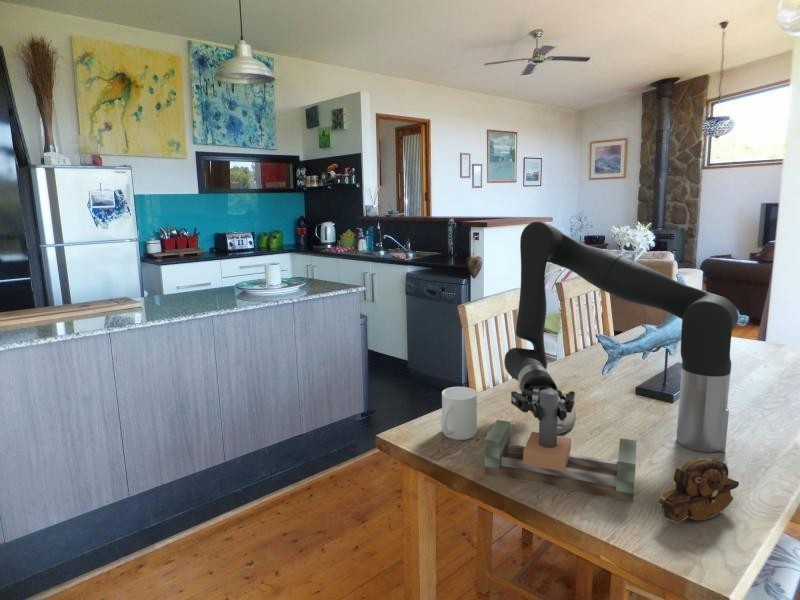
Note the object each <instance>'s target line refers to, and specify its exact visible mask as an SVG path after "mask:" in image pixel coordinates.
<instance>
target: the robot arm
mask: <svg viewBox="0 0 800 600" xmlns="http://www.w3.org/2000/svg"><path fill="white" fill-rule="evenodd" d="M519 241H520V242H519V244H520V245H519V246H520V248H519V250H520V292H519V303H518V311H517V319H516V326H515V335H516V336H517V338H519V339H521V340H522V339H523V340H524V341H528V342H530V343H531V344H532V346H533V349H529V348H523V347H512V348H510V349H509V350H507V352H506V353H505V355H504V360H503V361H504V367H505V371H506V372H507V374H508V375H509V376H510V377H512V378H513V379H514V380H516V381H517V382H518V388H519V390H520V392H517V391H513V390H512V391H511V392H510V403H511V405H512V406H514V407H516V408H517V409H518V410H520V411H521V412H523V413H528V412H531V414H532V415H533V417H534V418H535V419H537V421H539V420H542V416H543V411H542V408H541V406H540V391H541V390H545V389H550V390H555V391H557V392H558V418H559V419H560V420H562V421H564V418H566V417H567V413H570V412H571V411H572V409H573V408H574V406H575V402H576V400H575V399H576V392H575V391H572V390H571V391H568V392H566V393H563V392H562V391H561V390H559V389H558V387H557V385H556V383H555V381H554V379H553V377H552V376H551V374H550V373H549V371H548V370H547V368H548V361H547V356H546V355H547V354H546V350H545V339H544V338H545V336H544V333H545V325H546V319H547V295H546V294H547V293H546V285H545V279H546V267H547V263H551V264H553V265H557V266H559V267H562V268H565V269H567V270H569V271H571V272H573V273H575V274H577V275H578V276H579V277H581V278H582V280H585V281H586V282H587V283H589V284H590V285H593V287H595V288H598V289H599V290H601V291H603V292H605V293H608V294H610V295H611V296H614V297H616V298H618V299H621V300H624V301H625V302H626V301H627V302H629V303H630V302H631V303H632V304H638V305H642V306H646V307H651V308H655V309H659V310H661V311H664V312H667V313H669V314H672V315H673V316H675V317H677V318H679V319H681V332H680V333H681V335H680V336H681V337H680V356H681V370H680V371H681V374H680V384H679V385H680V386H679V387H680V388H679V399H678V414H677V423H676V424H677V426H676V427H677V428H676V441H677V442H678V444H680V445H681V446H683V447H685V448H687V449H691V450H693V451H696V452H701V453H703V452H704V453H716V452H722V453H726V449H727V448H726V447H727V437H728V427H729V426H728V425H729V413H730V411H729V410H730V409H729V407H728V405H729V404H728V403H729V393H730V382H731V371H732V360H731V345H732V334H733V333H732V332H733V330H734V328H735V327H736V326H737V325H738V321H739V313H738V310H737V307H736V306H735V305H734V303H732V301H730V300H729V299H728V298H726V297H724V296H721V295H719V294H715V293H712V292H709V291H705V290H702V289H699V288H696V287H693V286H690V285H687V284H684V283H682V282H679V281H677V280H675V279H673V278H671V277H669V276H666V275H665V274H663V273H661V272H659V271H657V270H655V269H653V268H651V267H648V266H647V265H644V264H641V263H640V262H637V261H635V260H633V259H630V258H629V257H626V256H623V255H620V254H619V253H617V252H612V251H609V250H607V249H602V248H597V247H595V246H591V245H587V244H585V243H582V242H581V241H578V240H577V239H575V238H573V237H571V236H569V235H567V234H565V233H564V232H562V231H561V230H560V229H558V228H557V227H555V226H553V225H552V224H551V225H550V223H547V222H544V221H539V220H538V221H537V220H536V221H532V222H530V223H529V224H527V225H526V226H525V227H524V228H523V229H522V232H521V235H520V240H519Z"/></svg>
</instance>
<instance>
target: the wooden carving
mask: <svg viewBox="0 0 800 600" xmlns="http://www.w3.org/2000/svg"><path fill="white" fill-rule="evenodd" d="M728 476H729V468H728V466H727V464H726V463H725V462H724V461H723V462H722V461H719V460H718V459H717V458H714V459H711V460H710V459H708V458H701V457H698V458H697V457H696V458H693V459H691V460H689V461H686V462H685V463H684V464H683V465H682V466H680V467H676V468H675V470H674V473H673V477H672V479H673V482H674V483H675V488H672V489H668V490H667V491H665V492H663V494H662V495H661V496H659V498H658V503H659V505H660V506H661V509H662V511H663V514H664V518H665V519H667V520H669V521H673V522H674V523H676V524H679V523H682V522H683V521H684V520H685V519H687V518H690V519H692V520H695V521H705V520H708V519H711V518H713V517H715V516H717V515H718V514H719V515H720V514H721V513H722V512H723V511H724V510H726V508H727V507H729V505H730V504H731V503H732V502H733V501H734V497H733V496H732V492H731V491H732V490H735V489H736V488H738V487H739V485H740V482H739V481H737V480H735V479H732V478H729V477H728Z"/></svg>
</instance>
